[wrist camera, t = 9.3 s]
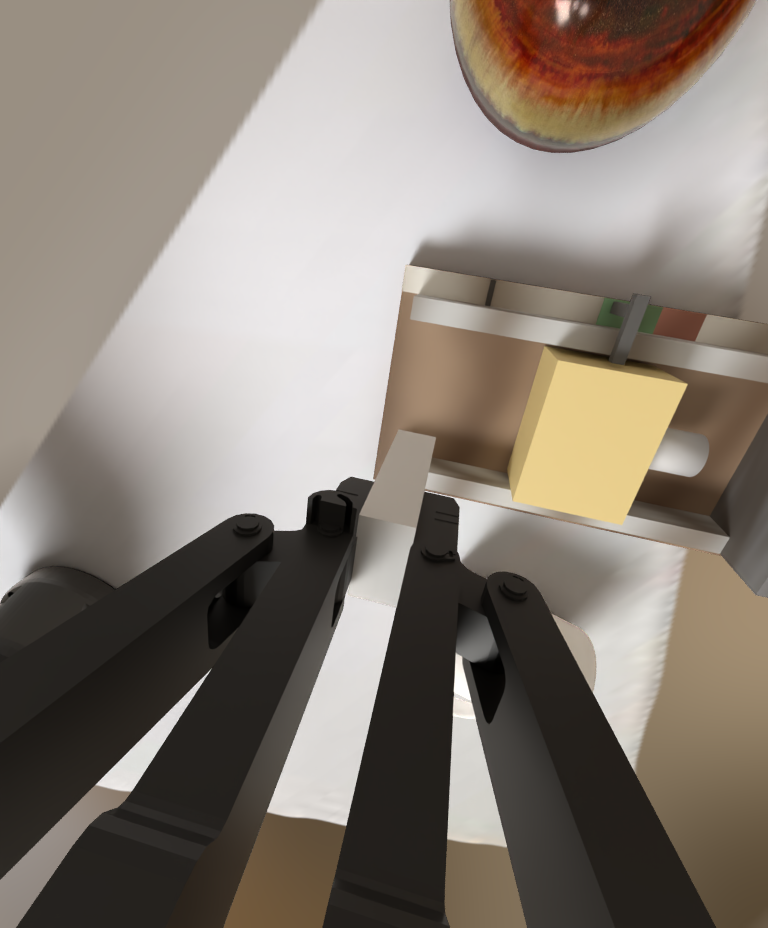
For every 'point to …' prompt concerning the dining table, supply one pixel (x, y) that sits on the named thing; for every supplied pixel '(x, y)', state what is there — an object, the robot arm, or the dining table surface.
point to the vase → (586, 62)
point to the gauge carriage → (600, 429)
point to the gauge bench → (593, 332)
